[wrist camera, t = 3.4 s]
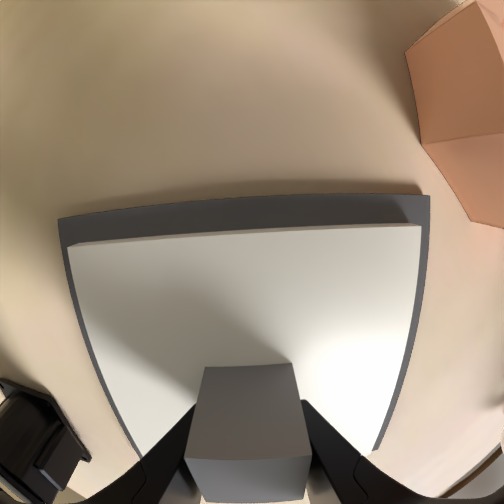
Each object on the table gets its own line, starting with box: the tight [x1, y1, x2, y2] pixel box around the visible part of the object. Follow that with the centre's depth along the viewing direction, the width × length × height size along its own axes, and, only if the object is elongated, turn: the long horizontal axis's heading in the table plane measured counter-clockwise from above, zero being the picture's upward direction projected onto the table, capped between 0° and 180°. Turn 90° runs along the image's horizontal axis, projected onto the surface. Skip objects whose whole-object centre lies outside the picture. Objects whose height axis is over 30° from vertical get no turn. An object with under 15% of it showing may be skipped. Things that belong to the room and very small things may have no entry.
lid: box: [67, 223, 421, 503], centre depth 8 cm, size 12×12×5 cm
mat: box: [58, 194, 430, 459], centre depth 10 cm, size 14×14×1 cm
